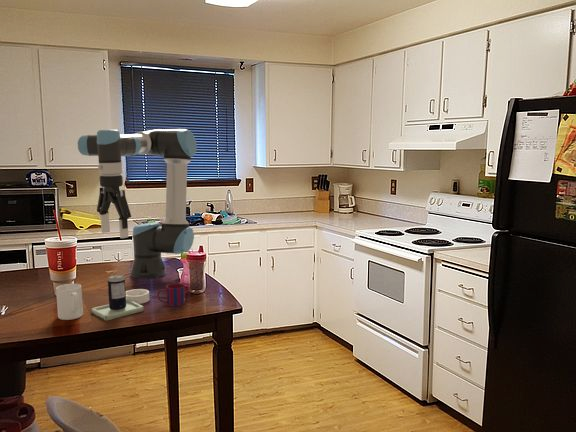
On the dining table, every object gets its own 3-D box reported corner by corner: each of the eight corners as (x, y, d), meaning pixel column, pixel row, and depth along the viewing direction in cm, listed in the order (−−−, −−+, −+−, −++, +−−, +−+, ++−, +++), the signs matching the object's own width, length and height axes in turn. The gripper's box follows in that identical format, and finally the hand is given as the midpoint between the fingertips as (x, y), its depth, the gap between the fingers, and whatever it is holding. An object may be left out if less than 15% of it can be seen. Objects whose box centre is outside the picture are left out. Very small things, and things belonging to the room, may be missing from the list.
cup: (186, 305, 187) (186, 287, 186) (158, 308, 183) (158, 290, 182) (183, 299, 193) (182, 282, 192) (156, 303, 189) (155, 285, 188)
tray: (128, 303, 188) (128, 299, 188) (143, 310, 181) (143, 306, 180) (91, 312, 179) (91, 308, 178) (105, 320, 171) (105, 316, 171)
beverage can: (129, 307, 182) (127, 274, 180) (121, 312, 176) (119, 279, 174) (114, 306, 183) (113, 273, 181) (106, 311, 177) (104, 278, 176)
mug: (55, 315, 176) (53, 286, 174) (78, 310, 181) (77, 282, 179) (65, 325, 166) (63, 294, 165) (90, 320, 171) (88, 290, 170)
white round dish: (141, 295, 199) (141, 287, 198) (154, 300, 192) (153, 292, 192) (119, 300, 192) (118, 292, 192) (131, 306, 186) (130, 298, 185)
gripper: (84, 173, 182) (88, 231, 186) (118, 178, 165) (122, 241, 169) (104, 172, 188) (108, 228, 191) (139, 176, 170) (142, 238, 174)
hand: (114, 235), depth 180 cm, fingers open, 13 cm apart
